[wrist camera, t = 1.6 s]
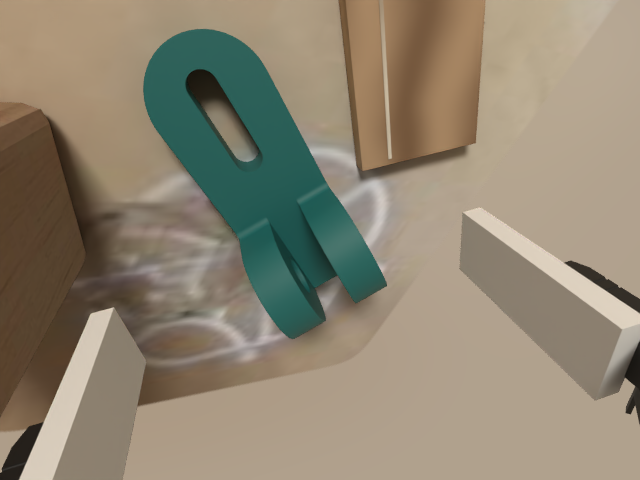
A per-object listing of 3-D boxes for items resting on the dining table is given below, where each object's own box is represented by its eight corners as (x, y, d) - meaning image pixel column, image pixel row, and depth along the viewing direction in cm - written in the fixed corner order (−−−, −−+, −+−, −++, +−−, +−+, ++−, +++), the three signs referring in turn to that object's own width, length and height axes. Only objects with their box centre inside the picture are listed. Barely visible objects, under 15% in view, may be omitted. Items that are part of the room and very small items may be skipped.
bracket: (356, 243, 30) (398, 305, 23) (283, 285, 30) (304, 358, 23) (228, 4, 20) (237, -8, 13) (122, 69, 20) (78, 88, 13)
